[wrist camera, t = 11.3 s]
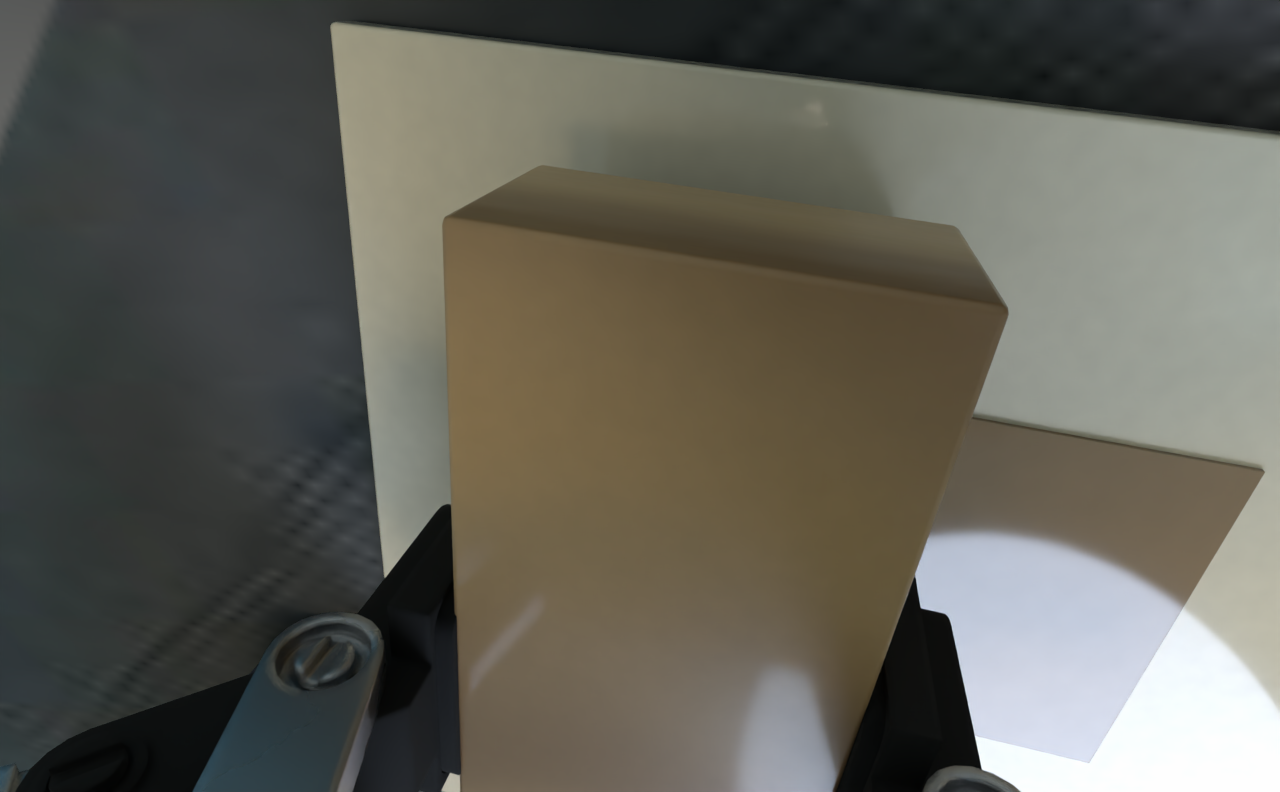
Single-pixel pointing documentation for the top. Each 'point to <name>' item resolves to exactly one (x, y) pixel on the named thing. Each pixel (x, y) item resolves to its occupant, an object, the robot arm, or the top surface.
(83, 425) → the top surface
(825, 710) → the tan block
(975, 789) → the robot arm
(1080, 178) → the tile board
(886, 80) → the top surface
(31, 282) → the top surface
